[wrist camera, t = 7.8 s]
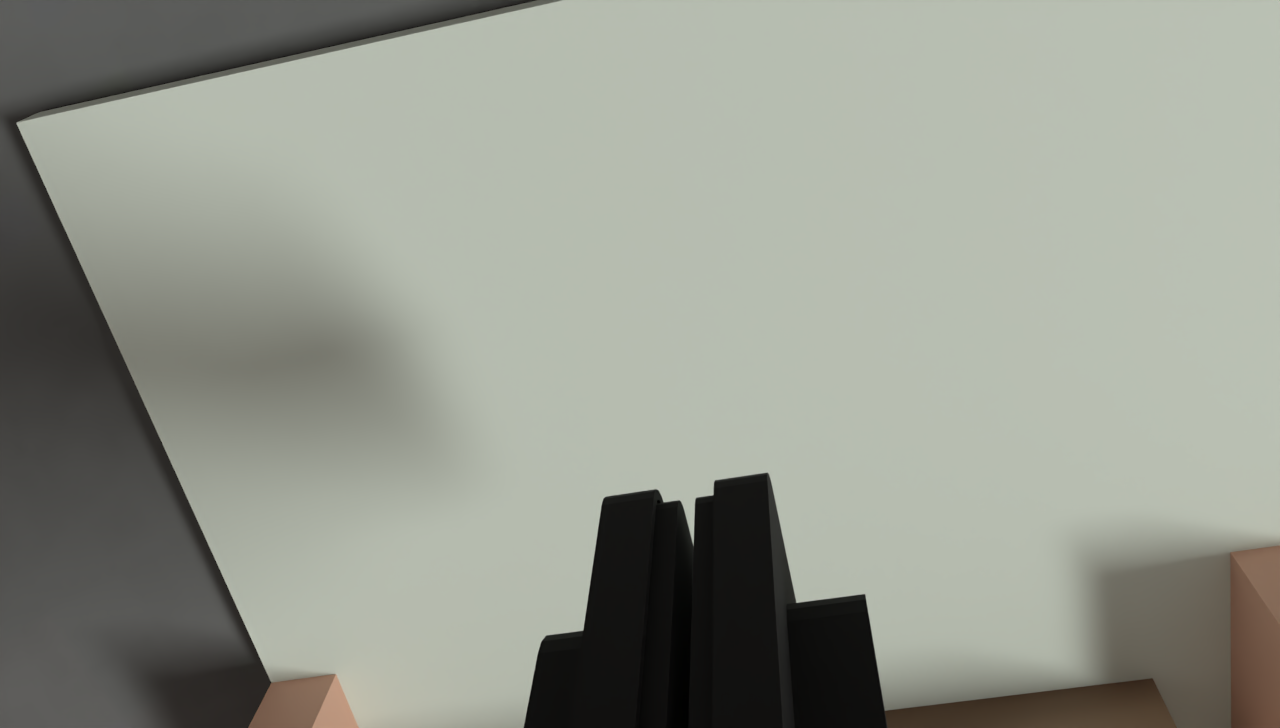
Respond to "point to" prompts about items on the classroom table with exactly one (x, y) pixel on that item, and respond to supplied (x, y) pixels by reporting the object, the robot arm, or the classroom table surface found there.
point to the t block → (1048, 709)
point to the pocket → (1260, 660)
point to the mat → (713, 326)
